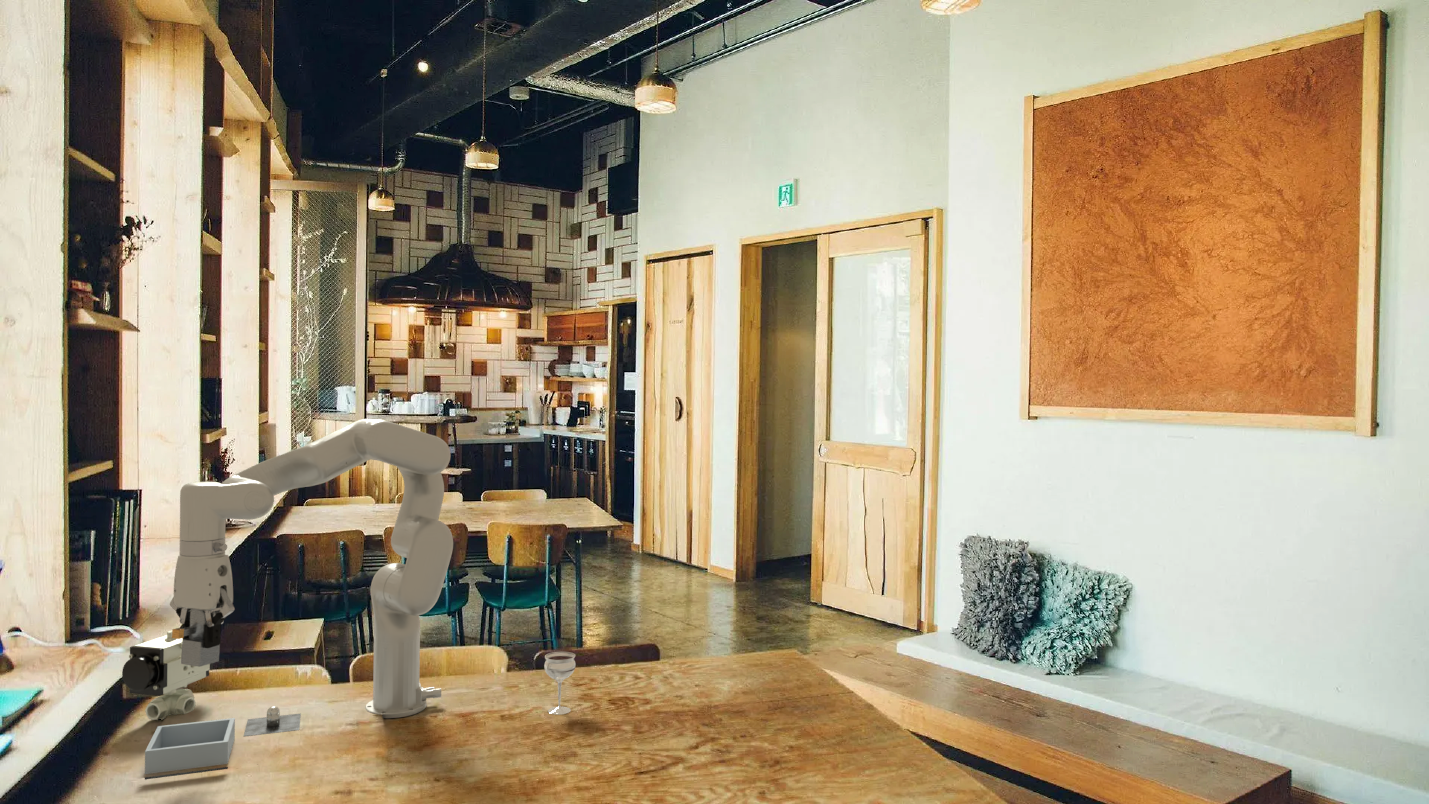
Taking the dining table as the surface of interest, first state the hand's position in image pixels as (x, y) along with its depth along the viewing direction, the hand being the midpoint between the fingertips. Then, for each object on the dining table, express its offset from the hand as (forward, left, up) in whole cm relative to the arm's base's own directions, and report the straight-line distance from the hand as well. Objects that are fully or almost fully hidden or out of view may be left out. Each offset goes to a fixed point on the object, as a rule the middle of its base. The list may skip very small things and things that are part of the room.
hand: (201, 644), depth 172 cm
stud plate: (-12, -11, -21) cm, 26 cm away
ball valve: (+8, -27, -22) cm, 35 cm away
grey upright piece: (+1, +1, -3) cm, 4 cm away
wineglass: (-69, -2, -21) cm, 72 cm away
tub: (+1, +1, -21) cm, 21 cm away
